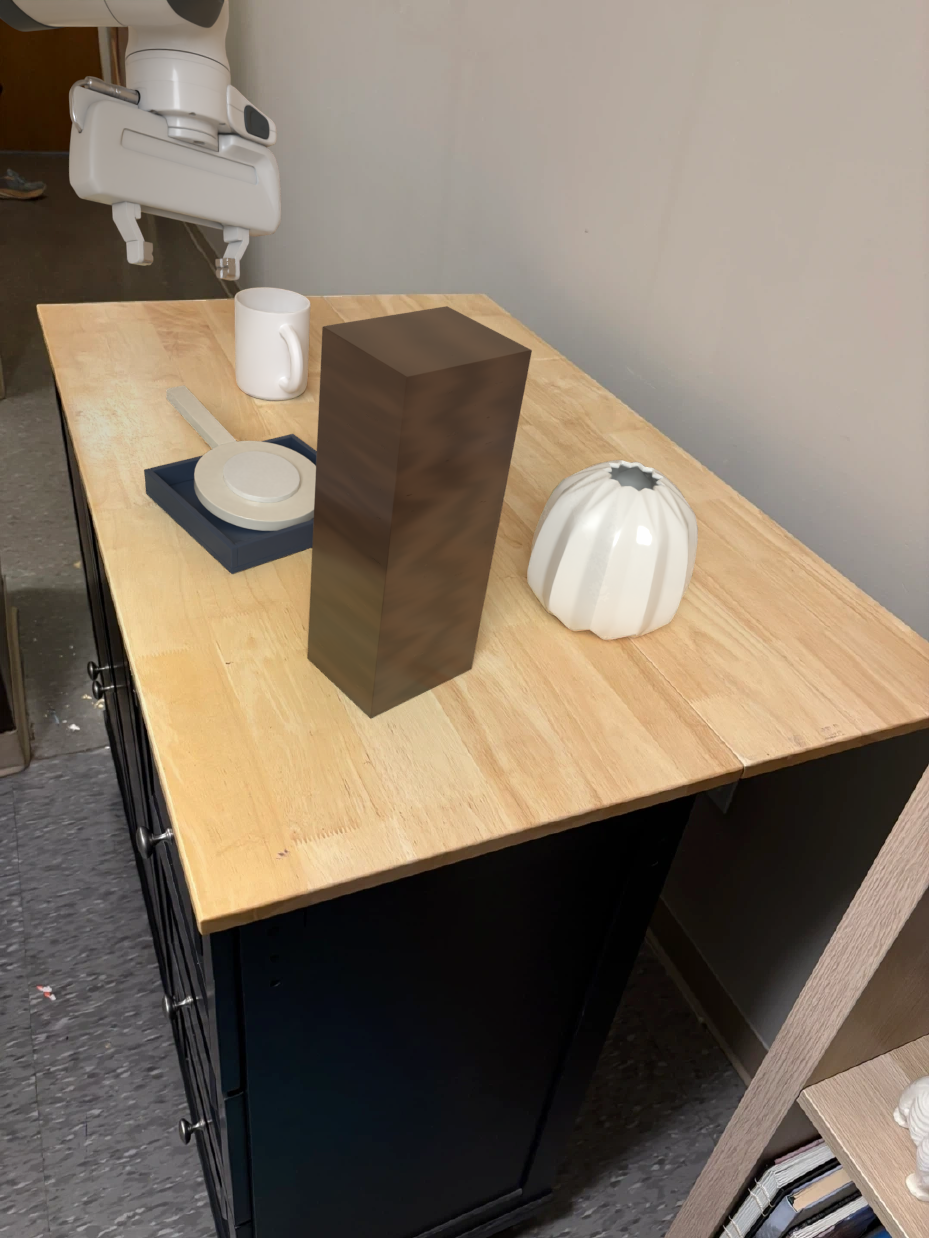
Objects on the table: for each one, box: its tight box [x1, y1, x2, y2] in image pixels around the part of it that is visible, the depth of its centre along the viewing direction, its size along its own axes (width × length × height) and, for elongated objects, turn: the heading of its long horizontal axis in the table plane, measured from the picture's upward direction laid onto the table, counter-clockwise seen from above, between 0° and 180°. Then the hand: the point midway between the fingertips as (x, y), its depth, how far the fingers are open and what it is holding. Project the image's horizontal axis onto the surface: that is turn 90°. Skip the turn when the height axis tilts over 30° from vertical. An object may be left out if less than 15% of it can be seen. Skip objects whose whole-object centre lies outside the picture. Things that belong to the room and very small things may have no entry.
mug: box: [233, 286, 312, 402], centre depth 103 cm, size 12×8×10 cm
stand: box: [306, 305, 533, 719], centre depth 63 cm, size 10×8×26 cm
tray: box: [143, 433, 317, 575], centre depth 85 cm, size 16×15×3 cm
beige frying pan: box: [165, 384, 316, 531], centre depth 87 cm, size 12×22×2 cm, turn 42°
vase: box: [526, 459, 699, 641], centre depth 76 cm, size 14×14×13 cm
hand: (186, 272), depth 83 cm, fingers open, 8 cm apart
